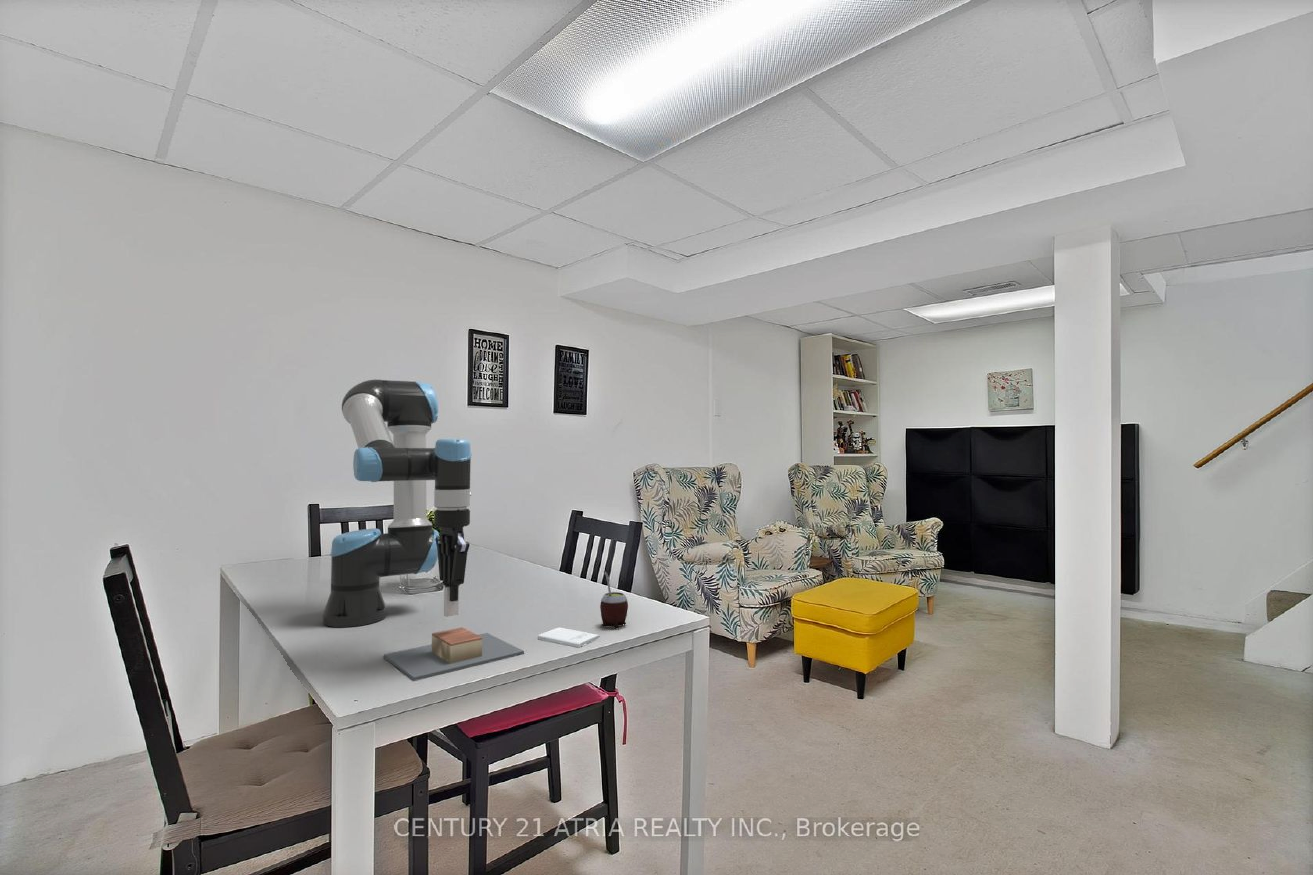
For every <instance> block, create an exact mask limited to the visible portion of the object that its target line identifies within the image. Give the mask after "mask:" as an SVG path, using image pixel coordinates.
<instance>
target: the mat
mask: <svg viewBox="0 0 1313 875" xmlns="http://www.w3.org/2000/svg"><path fill="white" fill-rule="evenodd" d="M478 635H479V636H480V637H482V656H481V657H476V658H472V659H468V660H463V661H459V662H455V663H451V664H450V663H449V662H447V661H446V660H444V659H442V658H441V657H439V656H438V655H436V654H435V653H433V652H432V643H431V644H428V645H422V646H418V647H417V646H416V647H414V648H408V649H404V650H398V651H393V652H389V653H384V654H383V658H384V659H385V660H387V662H389V663H390V664H391V665H393V666H395V668H397V669H398V670H399V671H401V672H402V673H404V675H406V676H407V677H409V678H410V679H411V680H413V681H418V680H423V679H427V678H430V677H436V676H439V675H443V674H447V673H451V672H455V671H460V670H463V669H467V668H471V667H476V666H479V665H483V664H488V663H491V662H492V663H493V662H496V661H499V660H504V659H508V658H512V657H516V656H520V655H524V654H525V650H524V649H521V648H519V647H517V646H515V645H512V644H511V643H509V642H506V641H505V640H502V639H501V638H499V637H496V636H494V635H493V634H490V633H488V632H485V633H480V634H478Z"/></svg>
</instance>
